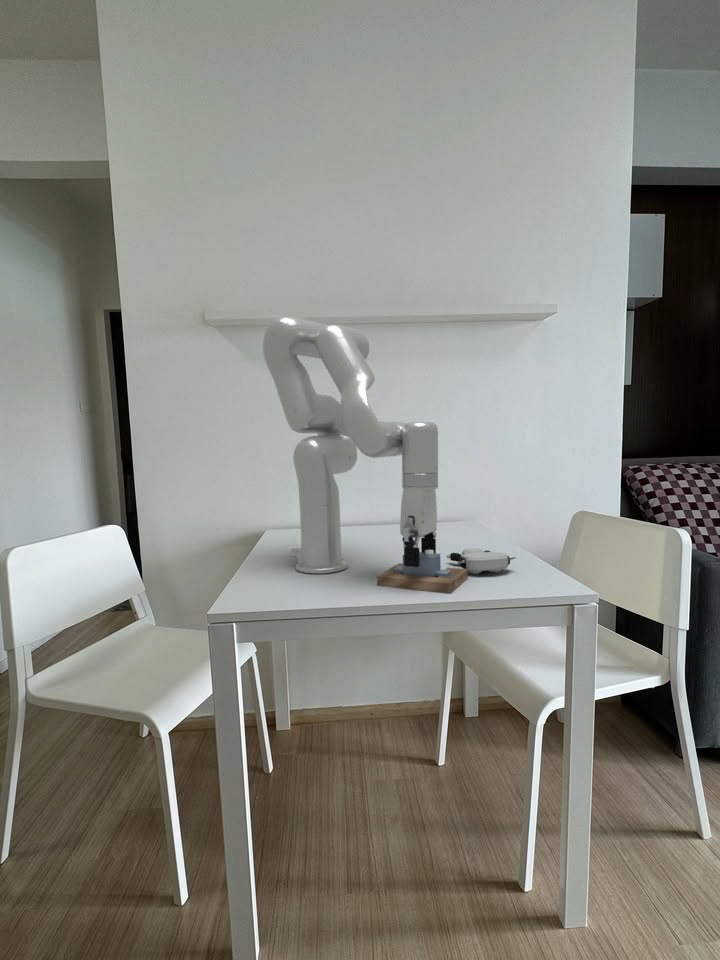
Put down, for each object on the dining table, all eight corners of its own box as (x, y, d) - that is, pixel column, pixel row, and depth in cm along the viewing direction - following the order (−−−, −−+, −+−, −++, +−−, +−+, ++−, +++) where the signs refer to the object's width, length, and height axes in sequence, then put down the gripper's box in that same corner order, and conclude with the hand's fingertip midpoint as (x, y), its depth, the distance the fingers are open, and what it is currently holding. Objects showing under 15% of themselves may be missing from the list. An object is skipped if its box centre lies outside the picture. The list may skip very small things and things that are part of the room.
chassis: (377, 585, 116) (376, 576, 116) (399, 571, 126) (399, 563, 126) (450, 593, 108) (450, 583, 108) (467, 578, 119) (467, 569, 119)
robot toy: (443, 567, 133) (464, 578, 118) (442, 548, 133) (464, 557, 118) (491, 564, 135) (518, 574, 120) (491, 545, 135) (517, 554, 120)
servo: (392, 581, 119) (391, 549, 118) (399, 577, 122) (399, 546, 121) (445, 587, 113) (445, 553, 112) (452, 582, 116) (451, 550, 116)
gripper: (418, 477, 125) (418, 551, 127) (386, 484, 110) (387, 568, 111) (450, 478, 122) (450, 554, 123) (422, 486, 106) (422, 572, 108)
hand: (420, 561), depth 117 cm, fingers open, 9 cm apart
